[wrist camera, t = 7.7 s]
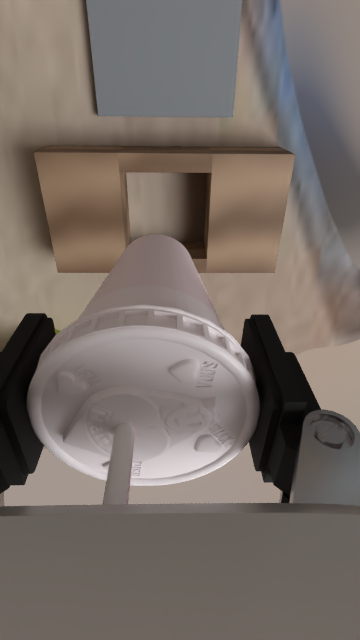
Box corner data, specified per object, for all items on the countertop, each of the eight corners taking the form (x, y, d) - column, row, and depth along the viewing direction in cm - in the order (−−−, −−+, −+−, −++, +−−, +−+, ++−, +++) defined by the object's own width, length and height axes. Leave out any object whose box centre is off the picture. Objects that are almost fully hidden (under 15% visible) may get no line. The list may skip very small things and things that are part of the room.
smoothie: (71, 223, 16) (-192, 577, 4) (207, 189, 15) (324, 501, 4) (117, 332, 19) (38, 691, 8) (229, 308, 19) (326, 663, 7)
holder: (49, 145, 33) (33, 152, 29) (281, 147, 33) (295, 154, 29) (69, 255, 39) (57, 272, 35) (264, 255, 39) (274, 272, 35)
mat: (80, -79, 25) (77, -84, 24) (246, -76, 25) (248, -81, 24) (99, 115, 31) (98, 115, 31) (231, 116, 31) (232, 117, 31)
